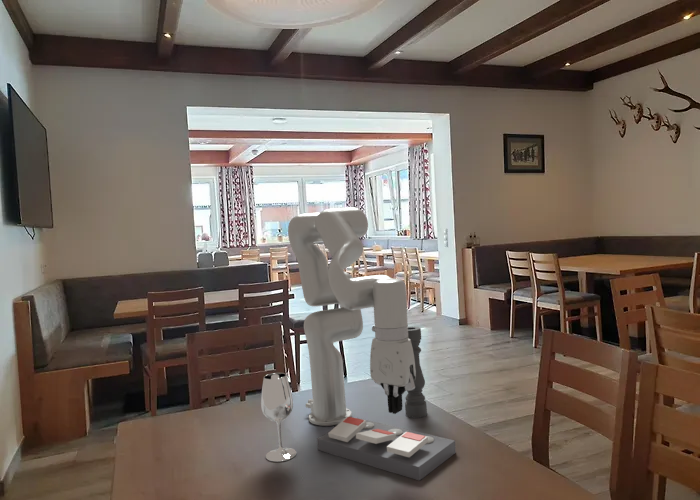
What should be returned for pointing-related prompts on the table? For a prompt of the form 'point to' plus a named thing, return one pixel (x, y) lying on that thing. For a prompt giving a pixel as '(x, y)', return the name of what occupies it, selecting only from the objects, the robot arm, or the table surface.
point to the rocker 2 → (376, 436)
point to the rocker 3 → (407, 444)
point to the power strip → (380, 458)
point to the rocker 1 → (347, 429)
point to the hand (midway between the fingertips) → (395, 411)
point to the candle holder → (416, 380)
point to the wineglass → (277, 410)
